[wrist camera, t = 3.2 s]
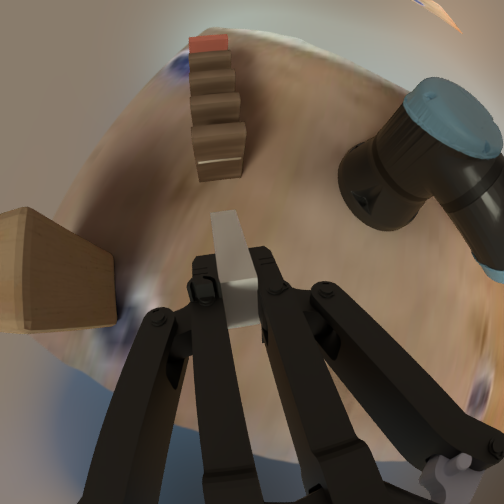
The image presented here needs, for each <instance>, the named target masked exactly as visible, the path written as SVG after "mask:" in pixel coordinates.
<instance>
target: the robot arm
mask: <svg viewBox="0 0 504 504" xmlns="http://www.w3.org/2000/svg"><path fill="white" fill-rule="evenodd" d="M502 148H503V139H502V135H501V132H500V130H499V128H498V126H497V125H496V124H495V123H494V122H493V118H492V116H491V115H490V113H489V112H488V111H487V110H486V109H485V107H484V106H483V105H482V104H481V103H480V102H479V101H478V100H477V99H476V98H475V97H474V96H472V95H471V94H470V93H469V92H468V91H466V90H465V89H463V88H462V87H460V86H459V85H457V84H455V83H453V82H451V81H449V80H446V79H443V78H439V77H431V78H426V79H424V80H423V81H421V82H420V83H419V84H418V85H417V87H416V88H415V89H414V90H413V91H412V92H410V93H409V94H407V95H406V96H405V98H404V101H403V103H402V105H401V106H400V107H399V108H398V110H397V111H396V112H395V113H394V115H393V116H392V117H391V118H390V119H389V121H388V122H387V123H386V124H385V125H384V126H383V128H382V129H381V130H380V131H379V132H378V134H377V135H376V136H375V137H373V138H371V139H369V140H367V141H366V142H363V143H360V144H358V145H356V146H354V147H353V148H352V149H350V150H349V151H348V153H347V154H346V155H345V157H344V158H343V159H342V161H341V163H340V166H339V169H338V184H339V188H340V192H341V194H342V197H343V199H344V201H345V203H346V204H347V206H348V207H349V209H350V210H351V211H352V213H353V214H354V215H355V216H356V217H357V218H358V219H359V220H361V221H362V222H363V223H365V224H366V225H368V226H370V227H372V228H374V229H377V230H380V231H394V230H398V229H400V228H402V227H404V226H405V225H407V224H409V223H410V222H411V221H412V220H413V219H414V218H415V216H416V215H417V213H418V211H419V209H420V208H421V207H422V206H423V204H424V203H425V201H426V200H427V199H429V198H430V197H432V196H434V197H435V198H436V200H437V201H438V202H439V203H440V205H441V206H442V207H443V209H444V210H445V212H446V213H447V215H448V216H449V217H450V219H451V220H452V222H453V223H454V224H455V226H456V227H457V229H458V230H459V232H460V233H461V235H462V236H463V238H464V239H465V241H466V243H467V244H468V246H469V247H470V249H471V252H472V255H473V257H474V259H475V260H476V261H477V262H478V263H479V265H481V267H482V269H483V270H484V272H485V273H486V275H487V276H488V277H489V278H491V279H492V280H494V281H496V282H498V283H502V284H504V156H503V155H502V153H501V150H502ZM210 215H211V223H212V231H213V239H214V247H215V254H209V255H202V256H196V258H195V259H194V261H193V262H192V275H193V276H192V278H191V279H190V281H189V282H188V283H187V290H188V294H189V298H190V303H189V304H188V305H187V306H185V307H184V308H182V309H180V310H177V311H175V312H173V311H172V310H170V309H169V308H165V307H160V308H155V309H153V310H151V311H149V312H148V313H147V314H146V316H145V317H144V319H143V321H142V323H141V326H140V328H139V330H138V333H137V335H136V337H135V340H134V342H133V345H132V347H131V349H130V352H129V354H128V357H127V359H126V362H125V364H124V367H123V369H122V372H121V375H120V377H119V380H118V383H117V385H116V388H115V391H114V393H113V396H112V399H111V402H110V405H109V408H108V410H107V413H106V416H105V419H104V422H103V425H102V428H101V431H100V435H99V438H98V441H97V444H96V447H95V451H94V454H93V458H92V461H91V465H90V469H89V472H88V476H87V480H86V484H85V488H84V492H83V496H82V498H81V499H80V501H79V502H78V503H77V504H158V501H159V496H160V490H161V484H162V479H163V473H164V469H165V463H166V458H167V453H168V449H169V444H170V438H171V434H172V429H173V425H174V420H175V416H176V411H177V407H178V402H179V398H180V393H181V389H182V385H183V381H184V376H185V372H186V368H187V364H188V360H189V356H191V355H193V369H194V383H195V395H196V406H197V417H198V426H199V435H200V444H201V450H202V459H203V466H204V474H203V479H202V485H203V493H204V499H205V504H469V503H470V501H471V499H472V497H473V495H474V493H475V491H476V489H477V487H478V485H479V483H480V481H481V478H482V476H483V474H484V471H485V470H486V469H487V468H489V467H491V466H493V465H495V464H497V463H499V462H500V461H501V460H502V459H503V457H504V434H503V433H502V432H501V431H499V430H497V429H495V428H493V427H491V426H489V425H487V424H485V423H483V422H481V421H479V420H477V419H475V418H473V417H471V416H469V415H467V414H465V413H464V411H463V410H462V409H461V408H460V407H459V406H458V405H457V404H456V403H455V402H454V401H453V399H452V398H451V397H450V396H449V395H448V394H447V393H446V392H445V391H444V390H443V389H442V388H441V387H440V386H439V385H438V384H437V383H436V381H435V380H434V379H433V378H432V377H431V376H430V375H429V374H428V373H427V372H426V371H425V370H424V369H423V368H422V367H421V366H420V365H419V364H418V363H417V362H416V361H415V360H414V359H413V358H412V357H411V356H410V355H409V354H408V353H407V352H406V351H405V350H404V349H403V348H402V347H401V346H400V345H399V344H398V343H397V342H396V341H395V340H394V339H393V338H392V337H391V336H390V335H389V334H388V333H387V332H386V331H385V330H384V329H383V328H382V327H381V326H380V325H379V324H378V323H377V322H376V321H375V320H374V319H373V318H372V317H371V316H370V315H369V314H368V313H367V312H366V311H365V310H363V309H362V308H361V307H360V306H359V305H358V304H357V303H356V302H355V301H354V300H353V299H352V298H351V297H350V296H349V295H348V294H347V293H346V292H345V291H343V290H342V289H341V288H340V287H339V286H338V285H336V284H335V283H332V282H328V281H322V282H317V283H316V284H314V285H313V286H312V288H311V290H300V289H295V288H292V287H291V285H290V284H289V283H288V282H286V281H284V279H283V277H282V275H281V273H280V270H279V268H278V266H277V264H276V261H275V259H274V258H273V255H272V253H271V251H270V250H269V249H268V248H266V247H265V246H261V247H254V248H248V247H247V244H246V241H245V238H244V234H243V231H242V228H241V225H240V222H239V219H238V216H237V213H236V210H228V211H221V212H213V213H210ZM259 318H260V320H259ZM260 322H261V327H262V343H265V346H266V350H267V353H268V357H269V361H270V364H271V368H272V371H273V375H274V378H275V382H276V385H277V389H278V392H279V396H280V399H281V403H282V406H283V410H284V413H285V416H286V420H287V423H288V427H289V430H290V434H291V437H292V440H293V444H294V447H295V451H296V454H297V457H298V461H299V464H300V467H301V476H302V481H303V485H304V488H305V492H306V495H307V496H305V497H303V498H301V499H299V500H297V501H296V502H285V503H284V502H280V503H279V502H278V503H277V502H264V500H263V496H262V493H261V488H260V484H259V480H258V476H257V472H256V467H255V463H254V458H253V454H252V450H251V445H250V440H249V436H248V431H247V427H246V422H245V417H244V412H243V407H242V402H241V397H240V392H239V387H238V382H237V377H236V371H235V366H234V360H233V355H232V349H231V344H230V338H229V332H228V329H231V328H237V327H244V326H250V325H256V324H260ZM323 358H324V359H323ZM324 360H325V361H326V362H327V363H328V365H329V366H330V367H331V368H332V370H333V371H334V372H335V373H336V375H337V376H338V377H339V378H340V380H341V381H342V382H343V383H344V385H345V386H346V387H347V388H348V390H349V391H350V392H351V393H352V395H353V396H354V397H355V398H356V400H357V401H358V402H359V403H360V405H361V406H362V407H363V408H364V410H365V411H366V412H367V413H368V415H369V416H370V417H371V418H372V419H373V421H374V422H375V423H376V424H377V426H378V427H379V428H380V429H381V431H382V432H383V433H384V434H385V435H386V437H387V438H388V439H389V440H390V442H391V443H392V444H393V445H394V447H395V448H396V449H397V450H398V451H399V453H400V454H401V455H402V456H403V457H404V458H405V459H406V460H407V461H408V462H409V463H410V464H412V465H413V466H414V467H415V468H417V469H419V470H420V471H422V474H421V476H420V478H419V483H420V485H421V486H424V487H425V488H426V489H427V490H428V491H429V493H430V495H431V500H428V499H425V498H423V497H420V496H418V495H415V494H412V493H410V492H408V491H406V490H403V489H401V488H399V487H396V486H394V485H392V484H390V483H387V482H385V481H383V480H382V477H381V475H380V473H379V470H378V467H377V465H376V463H375V460H374V458H373V455H372V453H371V451H370V449H369V447H368V445H367V444H366V443H365V442H364V441H363V440H361V439H359V438H358V437H357V436H356V434H355V432H354V429H353V427H352V424H351V422H350V420H349V417H348V415H347V412H346V410H345V408H344V405H343V403H342V401H341V398H340V396H339V393H338V391H337V389H336V386H335V384H334V382H333V379H332V377H331V375H330V372H329V370H328V368H327V365H326V363H325V361H324Z"/></svg>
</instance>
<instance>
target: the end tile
mask: <svg viewBox="0 0 504 504" xmlns="http://www.w3.org/2000/svg"><path fill="white" fill-rule="evenodd" d="M189 50H190V53H197V52H207V51H219V50H228V36H227V34H222V35H208V36H198V37H190V38H189Z"/></svg>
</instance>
